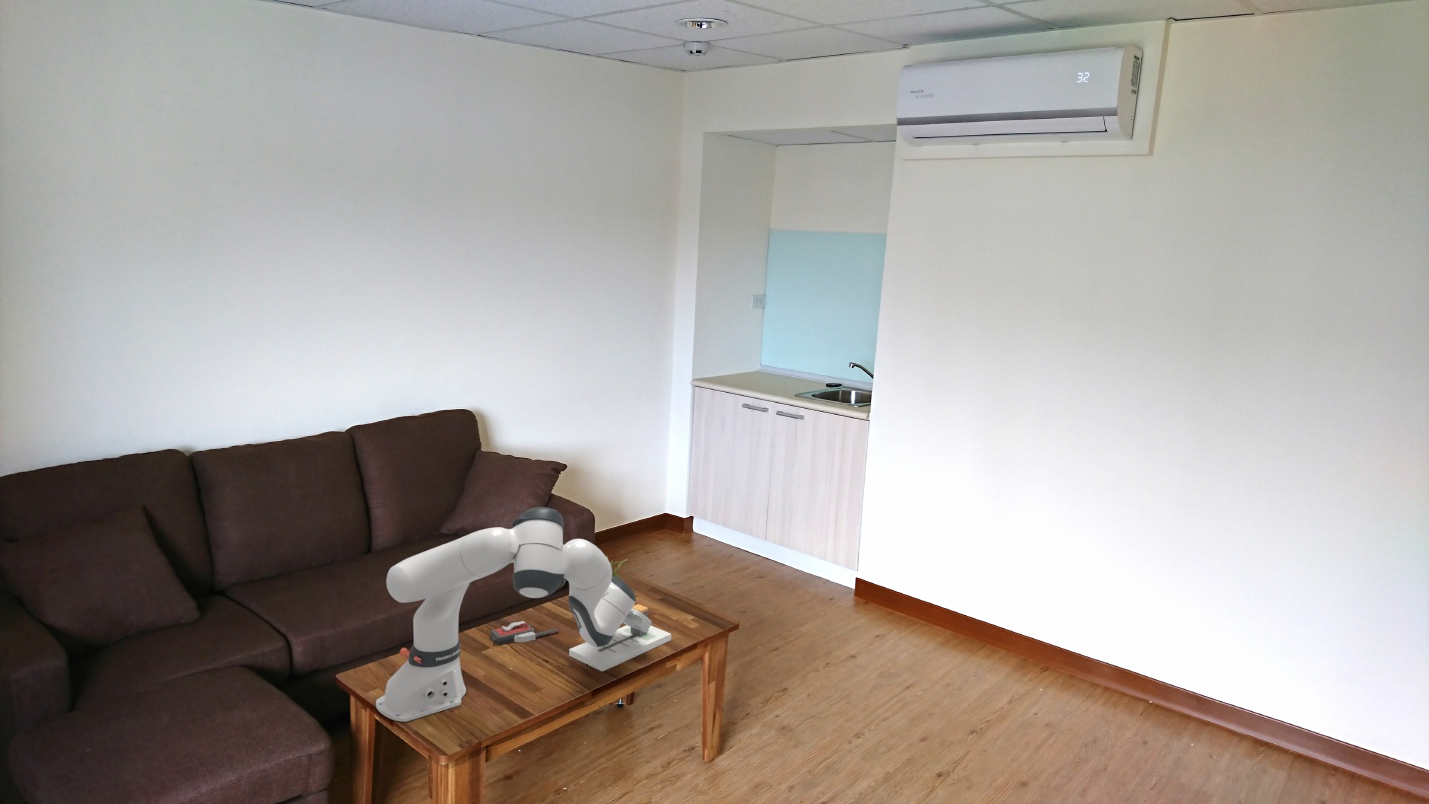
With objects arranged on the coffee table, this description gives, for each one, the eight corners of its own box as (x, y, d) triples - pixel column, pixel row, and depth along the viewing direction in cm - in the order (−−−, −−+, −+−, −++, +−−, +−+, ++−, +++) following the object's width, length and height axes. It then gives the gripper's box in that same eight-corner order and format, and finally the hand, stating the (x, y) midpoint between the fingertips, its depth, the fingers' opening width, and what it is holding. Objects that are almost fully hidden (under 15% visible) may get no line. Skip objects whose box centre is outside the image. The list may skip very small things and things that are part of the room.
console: (602, 671, 253) (602, 664, 252) (569, 655, 262) (569, 648, 261) (671, 640, 274) (671, 633, 273) (638, 626, 283) (638, 620, 282)
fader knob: (640, 636, 270) (640, 611, 269) (630, 632, 273) (630, 607, 271) (647, 633, 273) (648, 607, 271) (637, 629, 275) (638, 603, 274)
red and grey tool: (496, 650, 264) (560, 635, 276) (496, 636, 264) (559, 621, 275) (485, 639, 272) (547, 624, 283) (485, 625, 271) (547, 611, 282)
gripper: (641, 604, 256) (664, 626, 265) (592, 585, 269) (616, 606, 278) (629, 624, 253) (653, 645, 262) (581, 603, 266) (605, 625, 276)
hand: (634, 625), depth 270 cm, fingers closed
